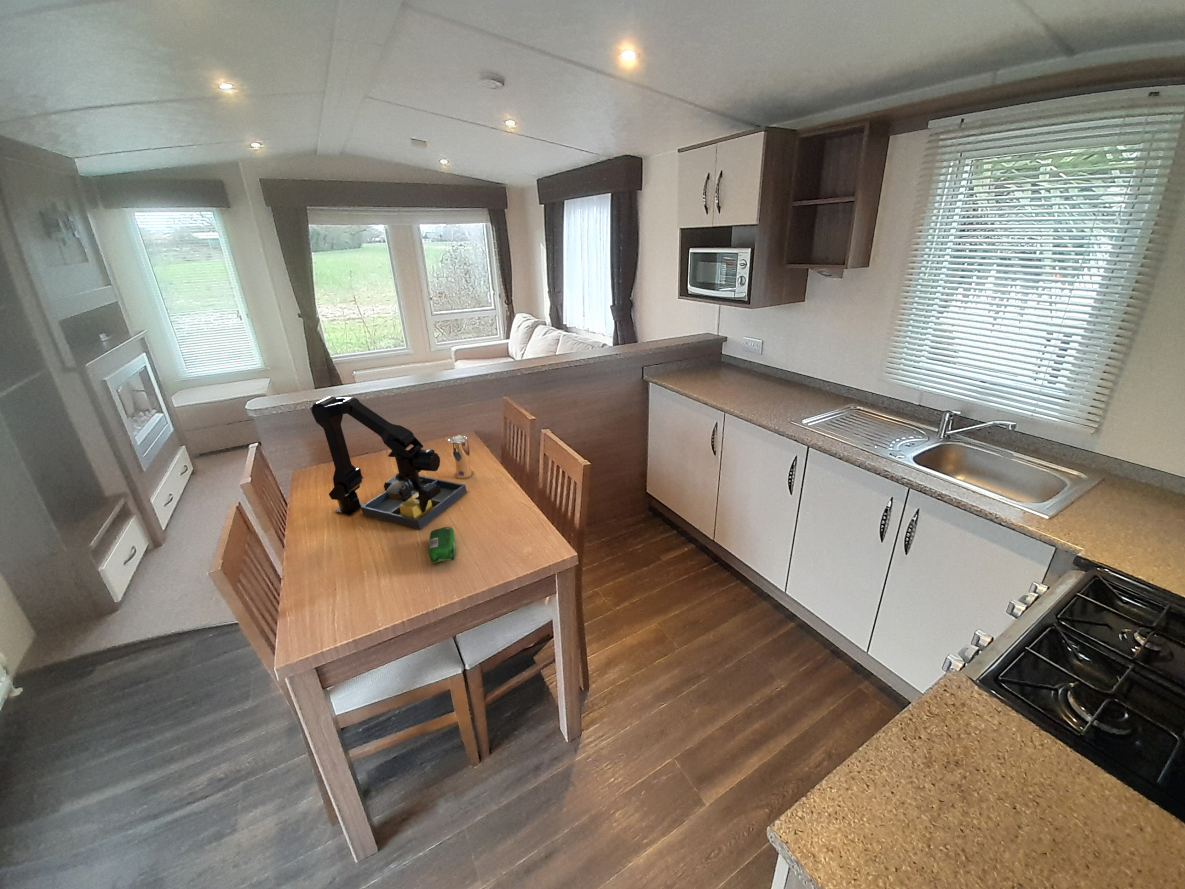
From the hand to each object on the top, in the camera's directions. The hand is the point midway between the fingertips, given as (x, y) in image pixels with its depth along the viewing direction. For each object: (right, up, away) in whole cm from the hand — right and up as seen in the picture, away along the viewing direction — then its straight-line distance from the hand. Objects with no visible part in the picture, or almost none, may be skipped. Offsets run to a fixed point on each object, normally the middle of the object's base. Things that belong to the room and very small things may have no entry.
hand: (416, 510), depth 157 cm
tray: (-3, +1, +8) cm, 9 cm away
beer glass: (+9, +10, +26) cm, 29 cm away
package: (0, -1, 0) cm, 1 cm away
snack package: (+15, -10, -18) cm, 25 cm away
